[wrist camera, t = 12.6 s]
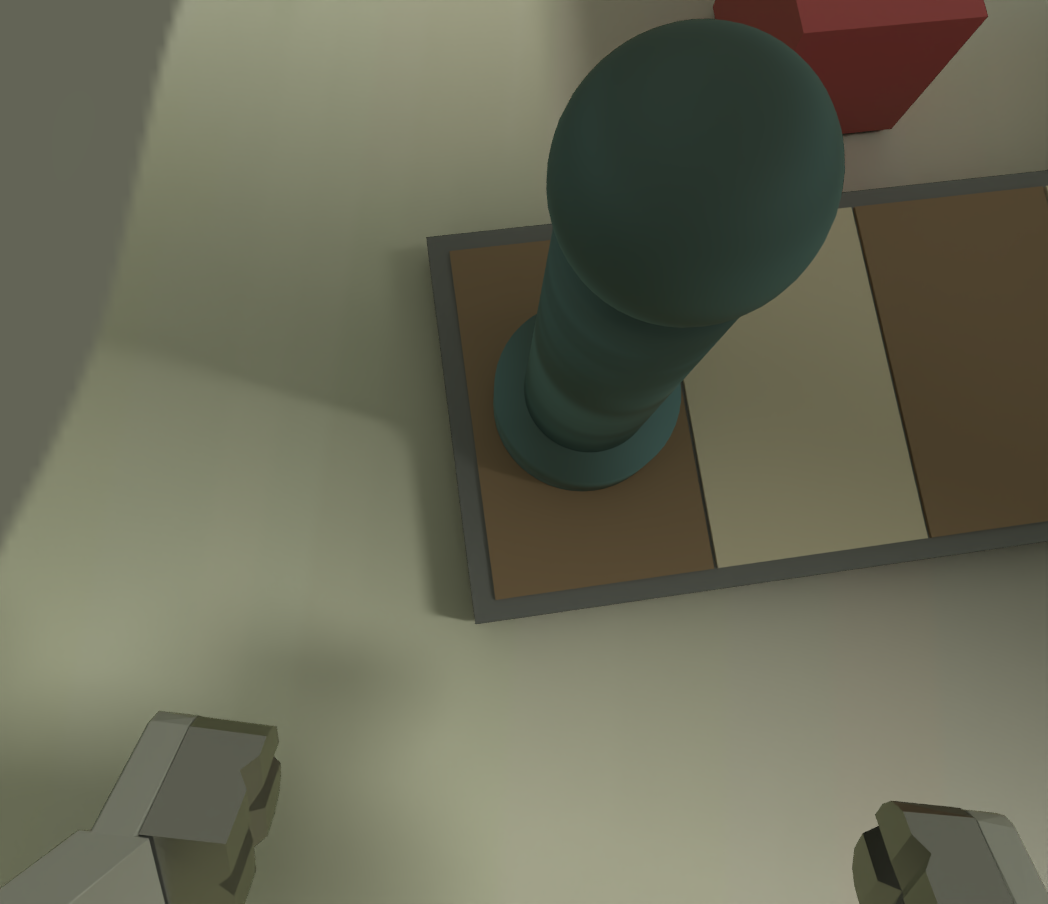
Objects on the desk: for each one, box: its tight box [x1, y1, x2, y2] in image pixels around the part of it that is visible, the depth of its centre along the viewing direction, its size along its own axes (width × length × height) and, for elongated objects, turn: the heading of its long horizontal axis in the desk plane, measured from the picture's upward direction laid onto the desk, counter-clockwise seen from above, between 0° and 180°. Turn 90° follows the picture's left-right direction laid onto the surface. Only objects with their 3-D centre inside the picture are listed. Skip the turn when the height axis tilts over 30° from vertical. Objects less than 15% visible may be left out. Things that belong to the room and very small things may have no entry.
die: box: [713, 0, 988, 134], centre depth 21 cm, size 4×5×5 cm
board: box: [426, 170, 1048, 624], centre depth 21 cm, size 23×10×1 cm, turn 98°
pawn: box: [493, 19, 845, 491], centre depth 14 cm, size 4×4×12 cm
